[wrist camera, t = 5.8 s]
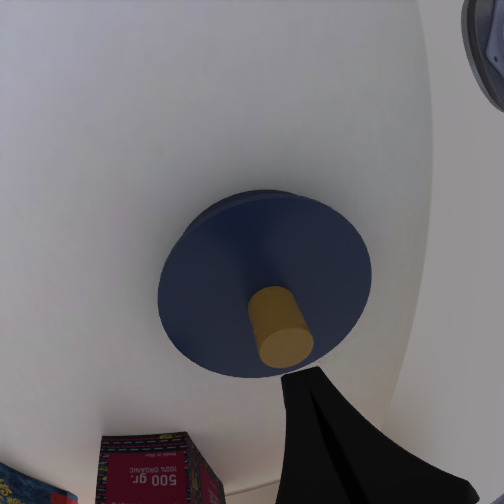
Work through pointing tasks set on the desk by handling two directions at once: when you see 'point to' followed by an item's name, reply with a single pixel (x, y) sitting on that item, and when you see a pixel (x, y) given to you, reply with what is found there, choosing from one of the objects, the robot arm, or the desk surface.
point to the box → (155, 471)
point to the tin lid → (264, 285)
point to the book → (29, 490)
